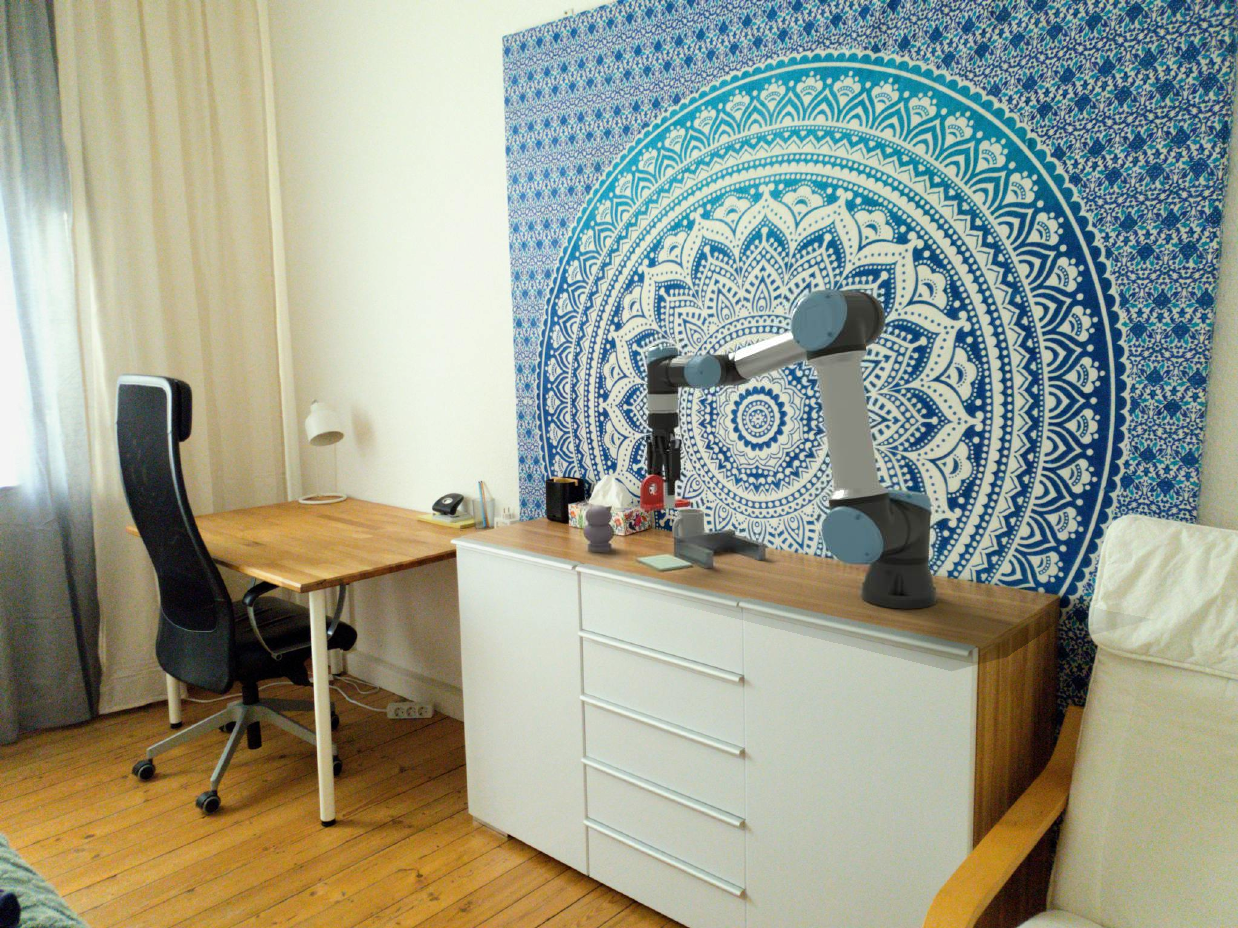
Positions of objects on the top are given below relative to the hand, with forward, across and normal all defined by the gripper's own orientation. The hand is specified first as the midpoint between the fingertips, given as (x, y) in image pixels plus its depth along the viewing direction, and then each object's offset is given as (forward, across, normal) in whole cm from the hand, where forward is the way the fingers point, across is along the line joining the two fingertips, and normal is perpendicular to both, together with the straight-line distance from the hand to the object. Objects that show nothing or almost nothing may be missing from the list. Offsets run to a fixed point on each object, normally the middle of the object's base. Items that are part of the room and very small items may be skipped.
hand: (663, 506), depth 215 cm
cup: (+15, +15, -16) cm, 26 cm away
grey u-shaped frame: (+14, 0, -15) cm, 21 cm away
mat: (+14, 0, 0) cm, 14 cm away
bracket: (0, 0, -1) cm, 1 cm away
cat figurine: (+15, +22, +7) cm, 27 cm away
